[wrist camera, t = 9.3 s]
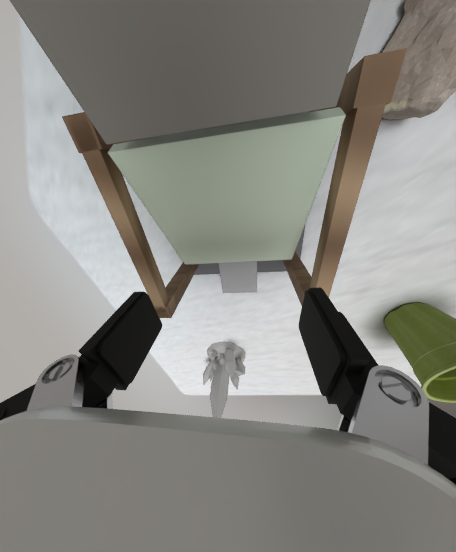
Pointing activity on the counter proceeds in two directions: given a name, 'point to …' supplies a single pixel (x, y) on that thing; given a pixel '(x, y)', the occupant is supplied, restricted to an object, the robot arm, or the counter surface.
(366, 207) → the counter surface
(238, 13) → the trapdoor
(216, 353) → the crystal
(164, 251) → the counter surface
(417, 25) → the concrete fragment
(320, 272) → the frame
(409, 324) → the plant pot
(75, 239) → the counter surface
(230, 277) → the stone block
